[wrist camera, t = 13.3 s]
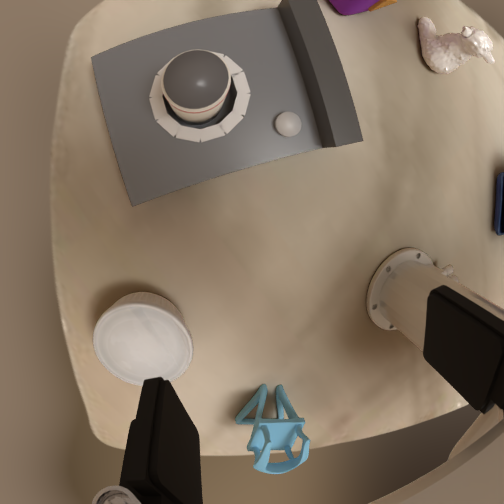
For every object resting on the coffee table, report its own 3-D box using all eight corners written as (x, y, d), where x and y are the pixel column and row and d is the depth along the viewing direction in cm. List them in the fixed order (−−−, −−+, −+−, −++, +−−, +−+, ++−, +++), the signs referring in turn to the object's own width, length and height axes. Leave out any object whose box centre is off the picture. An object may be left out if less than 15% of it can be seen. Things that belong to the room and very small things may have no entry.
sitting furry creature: (457, 57, 30) (512, 47, 19) (446, 93, 32) (507, 86, 21) (418, 17, 28) (471, -6, 16) (404, 50, 29) (464, 29, 18)
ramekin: (208, 307, 35) (210, 331, 30) (171, 372, 37) (170, 399, 32) (121, 266, 31) (109, 285, 26) (94, 339, 33) (83, 363, 28)
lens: (216, 74, 26) (222, 41, 17) (227, 118, 28) (239, 101, 19) (167, 86, 26) (154, 58, 17) (178, 131, 27) (168, 119, 19)
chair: (296, 384, 41) (325, 443, 30) (280, 420, 43) (302, 477, 32) (246, 382, 39) (265, 447, 28) (234, 420, 41) (248, 481, 30)
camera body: (292, 20, 26) (313, -7, 20) (331, 143, 32) (363, 141, 25) (102, 68, 24) (81, 47, 18) (140, 201, 30) (125, 211, 23)
